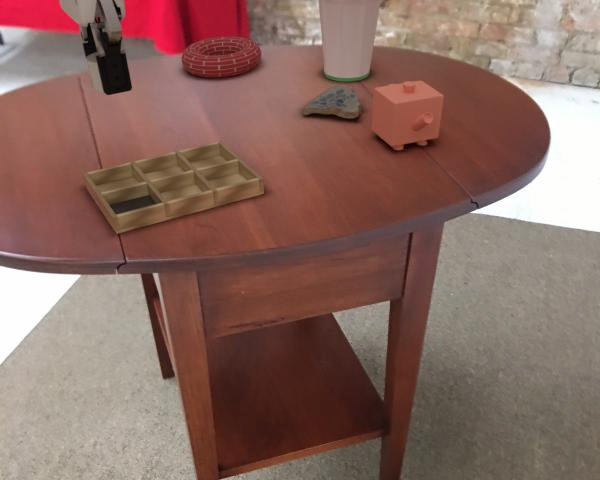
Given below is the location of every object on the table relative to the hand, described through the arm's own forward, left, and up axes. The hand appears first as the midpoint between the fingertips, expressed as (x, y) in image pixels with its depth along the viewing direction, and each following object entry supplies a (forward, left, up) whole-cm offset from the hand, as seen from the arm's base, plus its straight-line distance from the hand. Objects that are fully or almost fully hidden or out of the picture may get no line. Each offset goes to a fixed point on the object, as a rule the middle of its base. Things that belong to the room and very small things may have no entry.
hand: (111, 83), depth 73 cm
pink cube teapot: (+41, -3, -15) cm, 44 cm away
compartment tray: (+5, 0, -15) cm, 16 cm away
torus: (+31, +43, -15) cm, 56 cm away
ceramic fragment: (+39, +13, -15) cm, 44 cm away
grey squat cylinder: (0, 0, 0) cm, 0 cm away
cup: (+49, +27, -15) cm, 59 cm away
